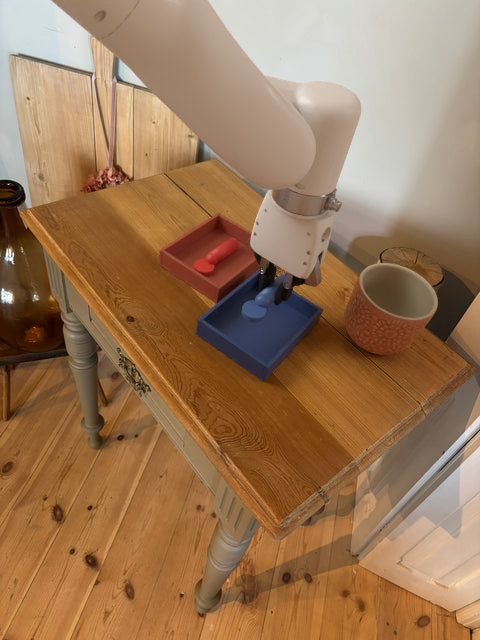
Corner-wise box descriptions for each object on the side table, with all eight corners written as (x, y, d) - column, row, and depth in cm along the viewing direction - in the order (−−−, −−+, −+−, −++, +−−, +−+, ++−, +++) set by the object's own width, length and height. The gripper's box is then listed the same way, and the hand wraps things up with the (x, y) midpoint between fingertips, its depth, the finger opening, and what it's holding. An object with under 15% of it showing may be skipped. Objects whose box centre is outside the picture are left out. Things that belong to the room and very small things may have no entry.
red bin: (158, 265, 81) (159, 249, 79) (216, 227, 91) (218, 212, 89) (216, 303, 77) (219, 288, 75) (270, 259, 87) (274, 245, 84)
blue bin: (195, 334, 72) (197, 319, 70) (255, 283, 82) (258, 269, 79) (263, 382, 68) (268, 368, 65) (317, 323, 78) (323, 309, 75)
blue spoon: (277, 277, 74) (281, 266, 73) (296, 288, 73) (300, 277, 71) (236, 313, 68) (239, 302, 66) (256, 326, 66) (259, 315, 65)
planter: (374, 377, 72) (403, 332, 64) (321, 324, 78) (342, 276, 70) (423, 346, 78) (455, 302, 70) (370, 299, 84) (394, 253, 76)
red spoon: (227, 242, 88) (229, 232, 86) (242, 251, 87) (244, 241, 85) (189, 269, 81) (190, 258, 79) (205, 279, 80) (206, 269, 78)
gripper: (371, 209, 57) (328, 309, 71) (267, 155, 62) (245, 259, 76) (343, 234, 53) (303, 336, 66) (233, 174, 58) (217, 281, 71)
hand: (273, 294), depth 71 cm, fingers closed on blue spoon, 2 cm apart
